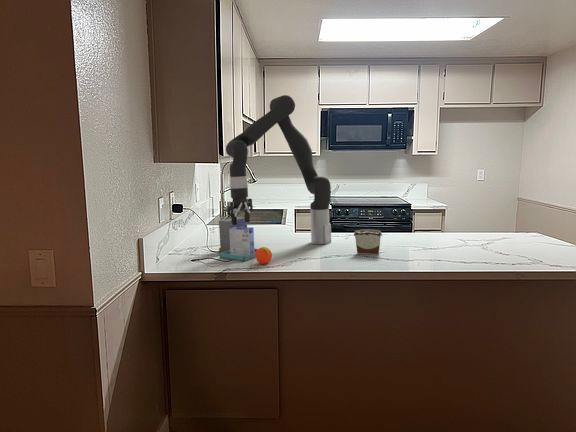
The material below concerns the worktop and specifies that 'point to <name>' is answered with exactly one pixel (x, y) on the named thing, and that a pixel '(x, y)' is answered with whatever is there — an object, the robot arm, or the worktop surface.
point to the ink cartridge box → (241, 240)
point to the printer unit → (227, 232)
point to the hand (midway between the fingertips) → (241, 223)
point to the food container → (368, 241)
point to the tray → (237, 256)
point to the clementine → (263, 255)
